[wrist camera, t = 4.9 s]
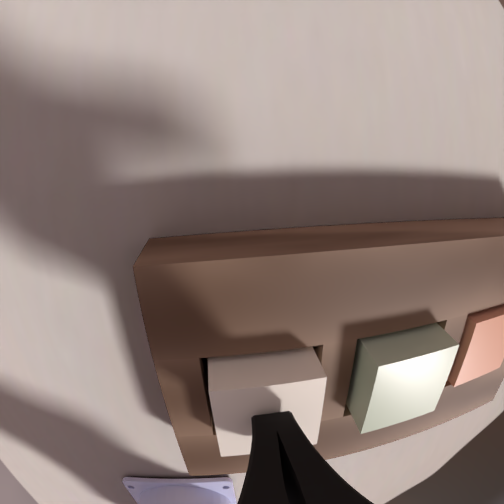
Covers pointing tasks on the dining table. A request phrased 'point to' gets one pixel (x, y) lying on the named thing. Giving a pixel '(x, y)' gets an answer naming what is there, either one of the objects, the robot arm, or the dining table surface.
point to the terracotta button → (479, 346)
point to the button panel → (312, 313)
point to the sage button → (399, 375)
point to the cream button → (264, 393)
